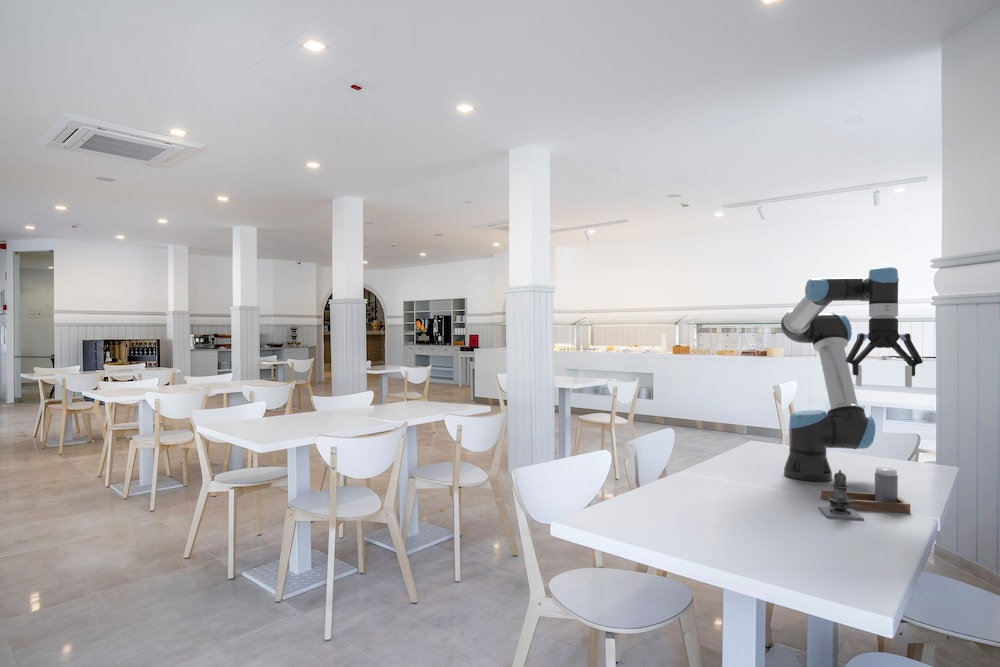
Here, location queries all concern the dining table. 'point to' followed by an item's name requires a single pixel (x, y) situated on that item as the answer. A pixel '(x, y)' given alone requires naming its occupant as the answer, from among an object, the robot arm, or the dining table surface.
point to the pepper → (886, 485)
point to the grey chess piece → (840, 495)
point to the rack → (870, 502)
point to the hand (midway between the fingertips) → (883, 386)
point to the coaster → (828, 514)
